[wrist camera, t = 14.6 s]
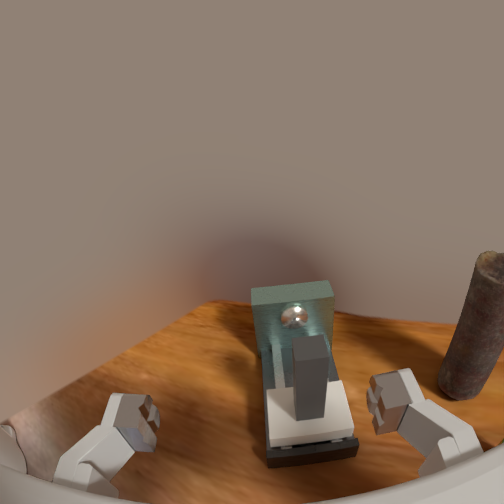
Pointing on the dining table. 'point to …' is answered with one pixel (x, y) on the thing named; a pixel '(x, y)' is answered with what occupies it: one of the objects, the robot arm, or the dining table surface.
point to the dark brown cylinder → (476, 331)
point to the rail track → (280, 357)
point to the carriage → (308, 399)
